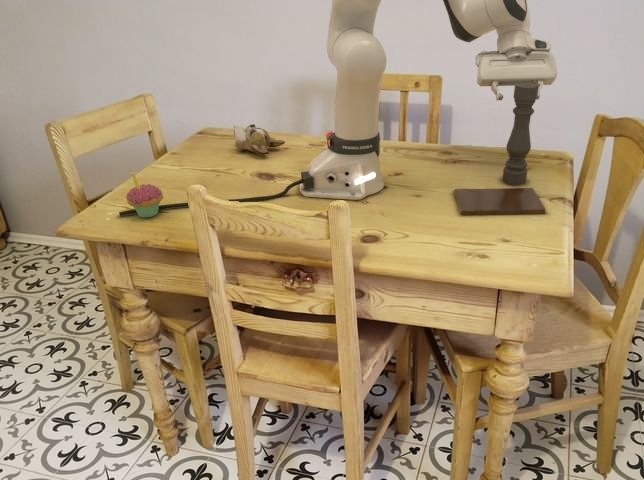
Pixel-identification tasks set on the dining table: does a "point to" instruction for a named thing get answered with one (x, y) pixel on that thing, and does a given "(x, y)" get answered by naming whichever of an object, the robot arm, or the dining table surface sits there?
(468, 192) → the board
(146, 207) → the cupcake
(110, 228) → the dining table surface
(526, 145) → the candle holder
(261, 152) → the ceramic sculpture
